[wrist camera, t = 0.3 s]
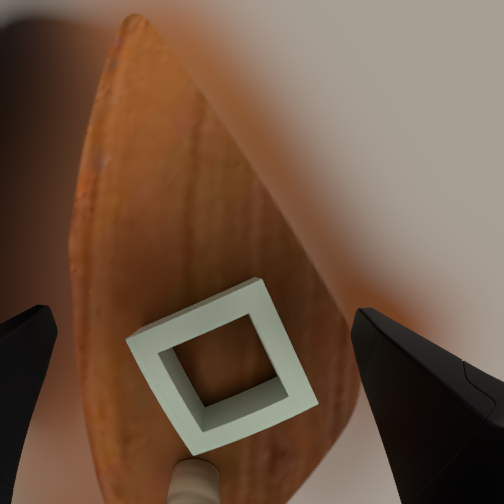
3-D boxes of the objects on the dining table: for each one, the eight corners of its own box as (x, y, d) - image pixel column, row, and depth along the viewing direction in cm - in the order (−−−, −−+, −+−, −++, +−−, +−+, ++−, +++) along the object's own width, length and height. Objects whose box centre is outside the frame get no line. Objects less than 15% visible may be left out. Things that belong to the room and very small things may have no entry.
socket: (303, 383, 22) (318, 403, 18) (196, 428, 21) (193, 455, 17) (254, 276, 22) (262, 279, 18) (140, 327, 21) (125, 339, 17)
